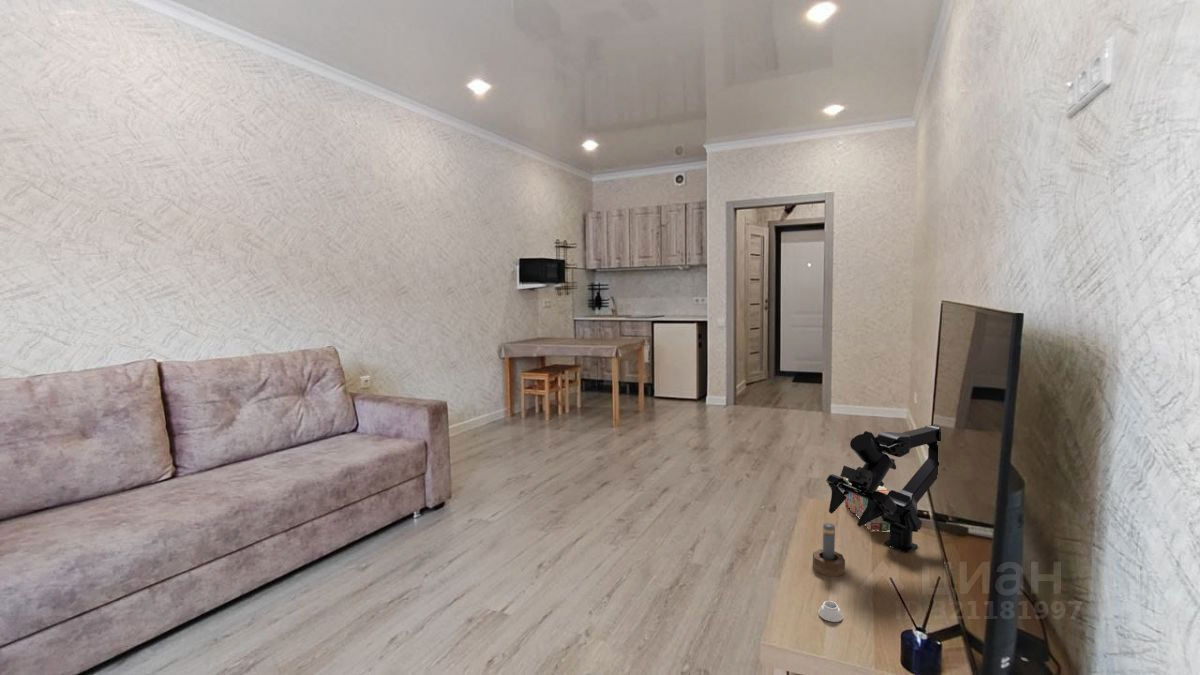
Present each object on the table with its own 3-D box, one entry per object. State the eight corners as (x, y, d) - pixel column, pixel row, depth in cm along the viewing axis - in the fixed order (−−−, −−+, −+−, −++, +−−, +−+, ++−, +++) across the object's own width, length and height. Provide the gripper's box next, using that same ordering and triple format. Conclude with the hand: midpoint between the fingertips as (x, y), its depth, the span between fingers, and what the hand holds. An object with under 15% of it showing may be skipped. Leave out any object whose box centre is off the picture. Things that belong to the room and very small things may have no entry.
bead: (824, 559, 148) (824, 547, 148) (849, 570, 142) (849, 558, 142) (807, 567, 144) (807, 554, 144) (832, 579, 138) (832, 566, 138)
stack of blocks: (844, 504, 185) (844, 469, 184) (863, 504, 184) (863, 469, 183) (870, 532, 164) (871, 493, 162) (892, 533, 163) (893, 493, 162)
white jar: (835, 609, 125) (814, 611, 125) (835, 597, 125) (814, 599, 125) (846, 622, 120) (825, 624, 120) (847, 610, 120) (825, 611, 120)
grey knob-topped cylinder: (830, 565, 145) (831, 522, 144) (836, 571, 142) (837, 527, 141) (820, 566, 144) (820, 523, 143) (825, 572, 141) (826, 528, 140)
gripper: (831, 446, 153) (801, 490, 150) (890, 465, 136) (858, 515, 133) (850, 468, 157) (822, 512, 154) (910, 489, 140) (880, 539, 137)
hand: (843, 518), depth 144 cm, fingers open, 9 cm apart
